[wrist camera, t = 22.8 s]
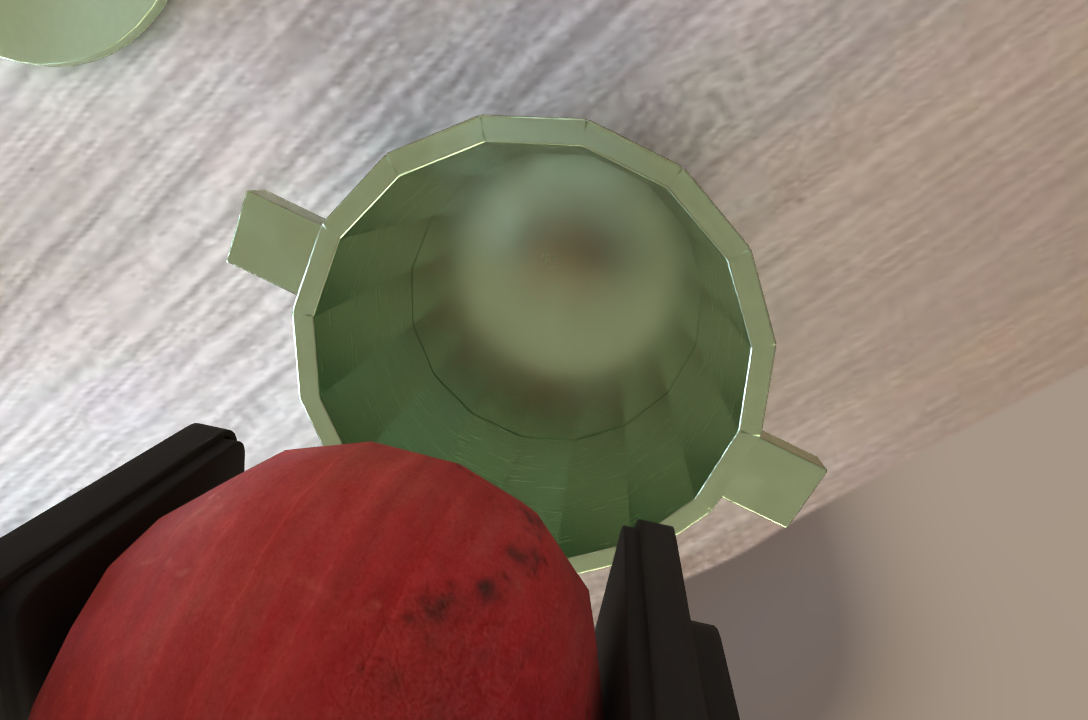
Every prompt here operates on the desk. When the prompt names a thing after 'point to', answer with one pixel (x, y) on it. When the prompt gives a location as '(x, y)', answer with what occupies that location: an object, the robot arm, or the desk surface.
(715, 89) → the desk surface
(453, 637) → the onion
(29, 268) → the desk surface
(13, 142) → the desk surface
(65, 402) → the desk surface
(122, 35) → the pot lid
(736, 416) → the pot
